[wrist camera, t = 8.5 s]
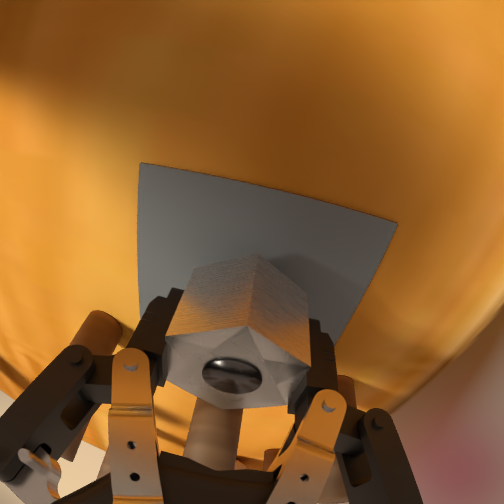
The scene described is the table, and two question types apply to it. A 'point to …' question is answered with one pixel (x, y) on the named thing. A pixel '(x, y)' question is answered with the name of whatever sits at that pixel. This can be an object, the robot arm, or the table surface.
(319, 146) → the table surface
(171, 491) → the robot arm
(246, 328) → the nut
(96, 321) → the post field
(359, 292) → the felt mat
